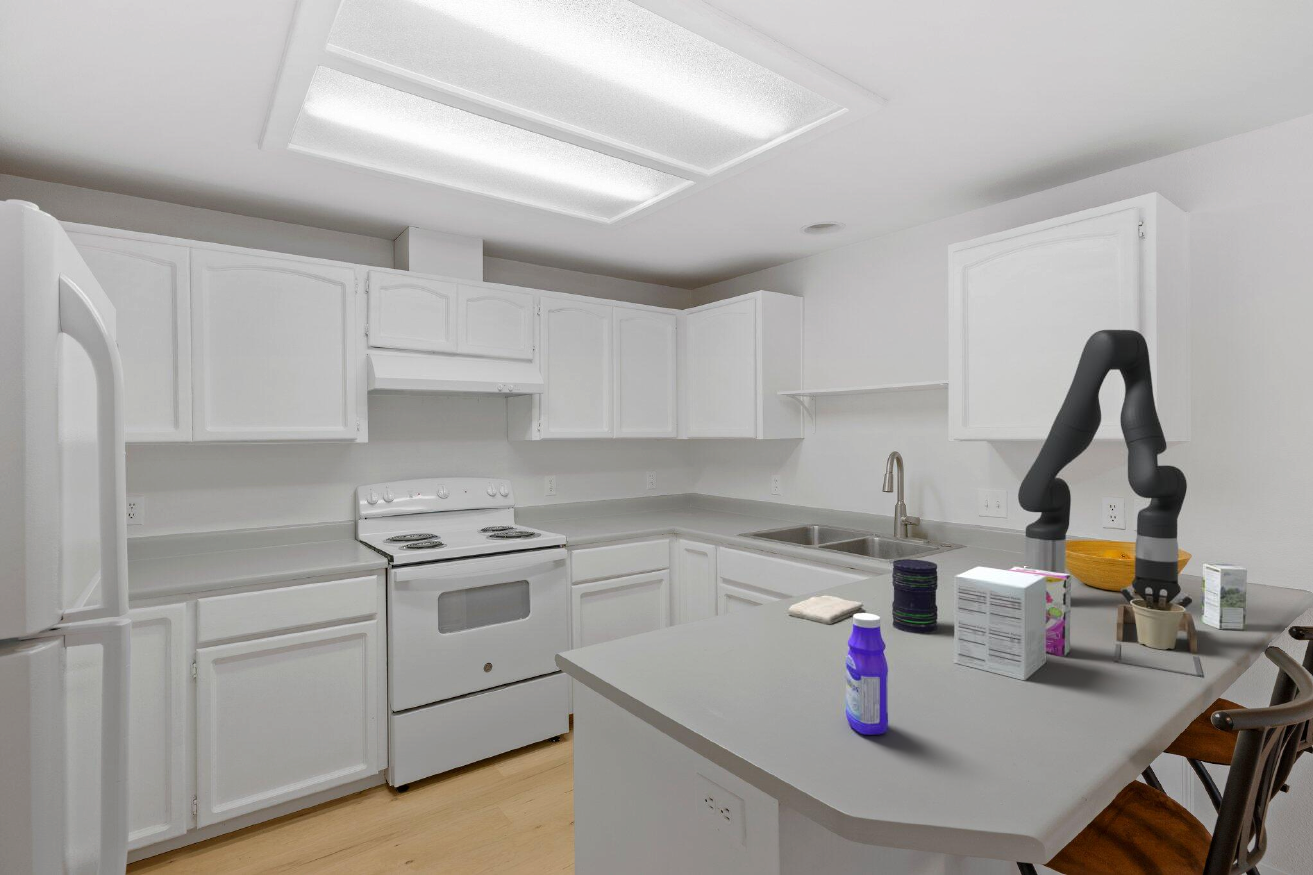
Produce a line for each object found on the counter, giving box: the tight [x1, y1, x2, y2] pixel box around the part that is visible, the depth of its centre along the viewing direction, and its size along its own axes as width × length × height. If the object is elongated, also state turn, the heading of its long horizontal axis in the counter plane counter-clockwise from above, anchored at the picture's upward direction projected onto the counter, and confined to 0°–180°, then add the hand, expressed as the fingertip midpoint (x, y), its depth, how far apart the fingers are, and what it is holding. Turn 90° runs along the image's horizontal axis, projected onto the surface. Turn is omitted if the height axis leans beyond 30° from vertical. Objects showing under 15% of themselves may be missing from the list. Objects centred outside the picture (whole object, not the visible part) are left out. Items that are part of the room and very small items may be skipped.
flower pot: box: [1129, 598, 1187, 650], centre depth 139 cm, size 9×9×9 cm
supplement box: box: [953, 565, 1047, 681], centre depth 129 cm, size 13×13×18 cm
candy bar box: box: [1006, 566, 1072, 658], centre depth 137 cm, size 11×5×16 cm, turn 47°
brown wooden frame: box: [1116, 603, 1198, 654], centre depth 145 cm, size 14×18×4 cm
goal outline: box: [1113, 643, 1204, 678], centre depth 130 cm, size 14×13×1 cm
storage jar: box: [891, 558, 939, 635], centre depth 152 cm, size 10×10×15 cm
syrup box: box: [1200, 562, 1248, 631], centre depth 152 cm, size 6×6×14 cm
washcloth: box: [787, 595, 864, 625], centre depth 164 cm, size 12×18×3 cm, turn 136°
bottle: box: [845, 612, 889, 736], centre depth 101 cm, size 7×6×17 cm
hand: (1155, 634), depth 143 cm, fingers closed
